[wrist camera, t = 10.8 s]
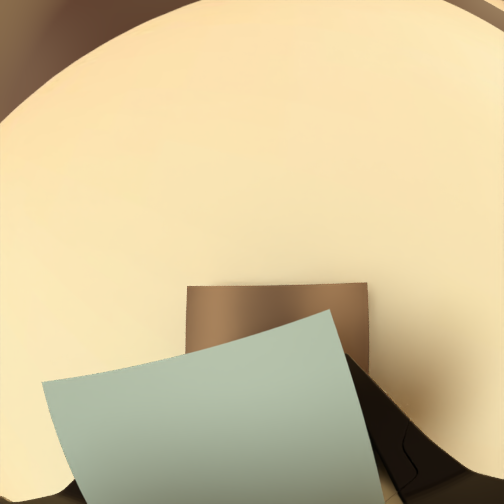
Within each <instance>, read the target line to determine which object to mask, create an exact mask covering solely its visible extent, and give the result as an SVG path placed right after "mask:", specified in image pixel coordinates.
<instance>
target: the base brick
mask: <svg viewBox="0 0 504 504" xmlns="http://www.w3.org/2000/svg"><path fill="white" fill-rule="evenodd" d="M328 309H330V312H331V315H332V318H333V321H334V324H335V327H336V330H337V333H338V336H339V339H340V342H341V345H342V348H343V351H344V353H348V354H349V355H350V356H351V357H352V358H353V359H354V361H355V362H356V363H357V364H358V365H359V366H360V367H361V368H362V369H363V370H364V371H365V372H366V373H367V374H368V367H369V316H368V290H367V283H344V284H316V285H279V286H187V307H186V352H185V354H188V353H192V352H196V351H199V350H203V349H207V348H210V347H214V346H218V345H221V344H225V343H228V342H231V341H235V340H238V339H242V338H245V337H248V336H251V335H255V334H258V333H261V332H264V331H267V330H271V329H274V328H277V327H280V326H283V325H286V324H289V323H292V322H295V321H298V320H300V319H303V318H306V317H309V316H312V315H315V314H317V313H320V312H323V311H326V310H328Z"/></svg>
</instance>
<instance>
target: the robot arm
mask: <svg viewBox="0 0 504 504" xmlns="http://www.w3.org/2000/svg"><path fill="white" fill-rule="evenodd" d="M344 354H345V357H346V361H347V364H348V367H349V370H350V373H351V377H352V380H353V383H354V386H355V390H356V393H357V397H358V400H359V403H360V407H361V410H362V414H363V417H364V421H365V425H366V428H367V432H368V436H369V439H370V443H371V447H372V451H373V455H374V459H375V463H376V467H377V471H378V475H379V479H380V484H381V488H382V492H383V497H384V501H385V504H504V479H500V478H495V477H491V476H487V475H483V474H480V473H476V472H474V471H472V470H470V469H468V468H466V467H465V466H463V465H462V464H461V463H459V462H458V461H457V460H455V459H454V458H453V457H452V456H450V455H449V454H448V453H446V452H445V451H444V450H443V449H441V448H440V447H439V446H438V445H436V444H435V443H434V442H433V441H432V440H430V439H429V438H428V437H427V436H426V435H425V434H424V433H423V432H422V431H421V430H420V429H419V428H418V427H417V426H416V425H415V424H414V423H413V422H412V421H410V419H409V418H408V417H407V416H406V415H405V414H404V412H403V411H402V410H401V409H400V408H399V407H398V406H397V405H396V404H395V403H394V402H393V401H392V400H391V399H390V398H389V397H388V396H387V394H386V393H385V392H384V391H383V390H382V389H381V388H380V387H379V386H378V385H377V384H376V383H375V382H374V381H373V380H372V379H371V378H370V376H369V375H368V374H367V373H366V372H365V371H364V370H363V369H362V368H361V367H360V366H359V365H358V364H357V363H356V362H355V361H354V359H353V358H352V357H351V356H350V355H349V354H348V353H344ZM0 504H87V502H86V500H85V498H84V496H83V494H82V492H81V490H80V488H79V486H78V484H77V482H76V480H75V479H74V480H73V481H72V482H71V483H70V484H69V485H68V486H67V487H66V488H65V489H64V490H62V491H61V492H59V493H57V494H54V495H50V496H46V497H42V498H37V499H32V500H27V501H22V502H12V501H10V500H8V499H6V498H5V497H2V496H0Z"/></svg>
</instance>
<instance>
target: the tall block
mask: <svg viewBox="0 0 504 504" xmlns="http://www.w3.org/2000/svg"><path fill="white" fill-rule="evenodd" d="M42 385H43V389H44V393H45V397H46V400H47V404H48V408H49V411H50V414H51V418H52V421H53V424H54V427H55V430H56V433H57V436H58V438H59V441H60V444H61V447H62V449H63V452H64V454H65V457H66V459H67V462H68V464H69V466H70V469H71V471H72V473H73V476H74V478H75V480H76V482H77V484H78V486H79V488H80V490H81V492H82V494H83V496H84V498H85V500H86V502H87V504H385V501H384V497H383V492H382V488H381V484H380V479H379V475H378V471H377V467H376V463H375V459H374V455H373V451H372V447H371V443H370V439H369V436H368V432H367V428H366V425H365V421H364V417H363V414H362V410H361V407H360V403H359V400H358V397H357V393H356V390H355V386H354V383H353V380H352V377H351V373H350V370H349V367H348V364H347V361H346V357H345V354H344V351H343V348H342V345H341V342H340V339H339V336H338V333H337V330H336V327H335V324H334V321H333V318H332V315H331V312H330V309H328V310H326V311H323V312H320V313H317V314H315V315H312V316H309V317H306V318H303V319H300V320H298V321H295V322H292V323H289V324H286V325H283V326H280V327H277V328H274V329H271V330H267V331H264V332H261V333H258V334H255V335H251V336H248V337H245V338H242V339H238V340H235V341H231V342H228V343H225V344H221V345H218V346H214V347H210V348H207V349H203V350H199V351H196V352H192V353H188V354H184V355H180V356H176V357H172V358H168V359H164V360H159V361H155V362H151V363H146V364H142V365H137V366H133V367H128V368H123V369H118V370H113V371H108V372H103V373H97V374H92V375H86V376H80V377H74V378H67V379H61V380H54V381H47V382H42Z"/></svg>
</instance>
